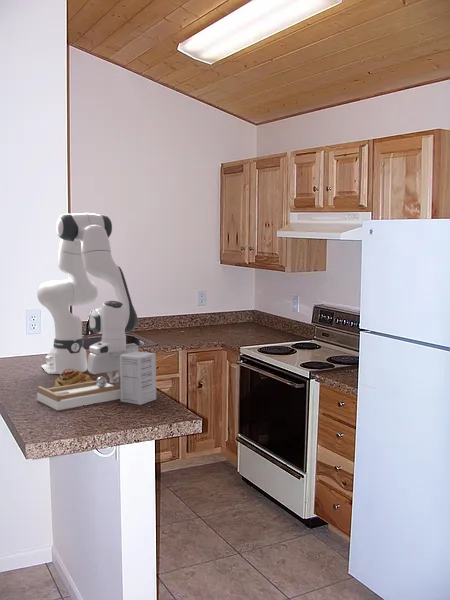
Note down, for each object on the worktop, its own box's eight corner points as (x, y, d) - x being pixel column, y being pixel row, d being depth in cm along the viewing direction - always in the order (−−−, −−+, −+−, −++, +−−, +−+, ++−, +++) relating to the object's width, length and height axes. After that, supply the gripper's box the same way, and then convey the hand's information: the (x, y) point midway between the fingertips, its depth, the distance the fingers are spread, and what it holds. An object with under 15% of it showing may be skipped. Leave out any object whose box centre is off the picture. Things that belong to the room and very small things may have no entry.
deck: (37, 400, 224) (37, 386, 223) (102, 389, 241) (102, 376, 240) (57, 410, 212) (57, 395, 211) (124, 397, 228) (124, 384, 228)
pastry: (47, 388, 241) (47, 368, 241) (81, 382, 252) (81, 362, 251) (67, 395, 232) (66, 373, 231) (101, 388, 243) (100, 367, 242)
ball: (93, 387, 231) (93, 376, 231) (103, 385, 234) (103, 374, 233) (99, 389, 228) (99, 378, 228) (109, 387, 231) (108, 376, 230)
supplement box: (157, 399, 227) (157, 353, 225) (141, 405, 219) (140, 357, 217) (136, 395, 232) (135, 350, 230) (119, 401, 224) (119, 354, 222)
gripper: (133, 341, 242) (133, 376, 243) (85, 347, 229) (85, 384, 230) (142, 343, 237) (142, 379, 239) (93, 349, 224) (94, 388, 225)
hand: (114, 382), depth 234 cm, fingers closed
